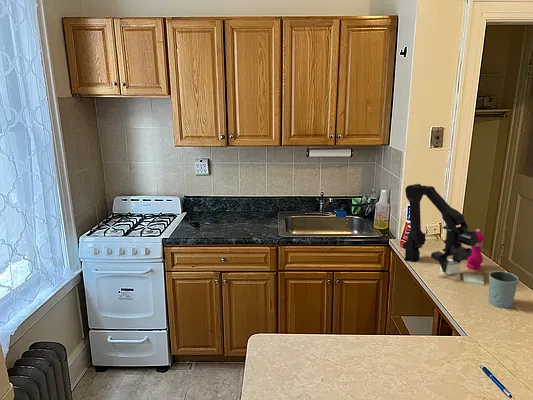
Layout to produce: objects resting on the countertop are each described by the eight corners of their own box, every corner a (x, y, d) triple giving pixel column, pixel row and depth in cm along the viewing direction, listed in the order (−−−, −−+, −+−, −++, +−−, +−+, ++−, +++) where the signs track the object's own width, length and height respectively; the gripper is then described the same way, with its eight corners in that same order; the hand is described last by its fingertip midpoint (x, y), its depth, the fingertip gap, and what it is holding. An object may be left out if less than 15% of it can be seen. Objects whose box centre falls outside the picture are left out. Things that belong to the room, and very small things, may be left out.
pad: (463, 282, 177) (463, 280, 177) (463, 275, 184) (463, 273, 184) (483, 285, 174) (483, 283, 174) (482, 277, 181) (482, 276, 181)
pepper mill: (483, 271, 188) (488, 231, 183) (467, 270, 189) (472, 231, 184) (479, 265, 195) (484, 226, 190) (463, 264, 196) (467, 226, 191)
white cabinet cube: (449, 274, 181) (450, 265, 180) (439, 269, 186) (440, 260, 185) (459, 272, 183) (460, 263, 182) (449, 267, 188) (450, 258, 187)
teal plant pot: (513, 299, 161) (516, 273, 158) (516, 311, 152) (520, 283, 149) (485, 295, 165) (488, 269, 162) (486, 306, 157) (490, 279, 154)
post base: (438, 277, 183) (439, 266, 182) (439, 269, 191) (440, 259, 190) (459, 280, 179) (461, 269, 178) (459, 272, 187) (460, 261, 186)
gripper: (450, 248, 170) (446, 281, 174) (482, 242, 176) (478, 274, 180) (431, 240, 181) (428, 271, 184) (463, 235, 187) (459, 265, 190)
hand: (449, 271), depth 185 cm, fingers closed on white cabinet cube, 6 cm apart
